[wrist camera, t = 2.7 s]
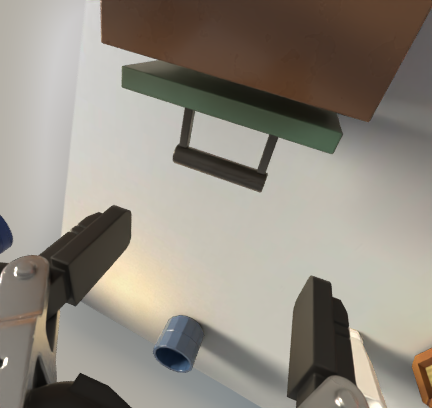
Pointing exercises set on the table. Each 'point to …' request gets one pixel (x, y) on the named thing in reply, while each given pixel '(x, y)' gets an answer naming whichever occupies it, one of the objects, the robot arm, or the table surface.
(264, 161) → the drawer
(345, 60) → the cabinet
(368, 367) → the cup
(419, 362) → the diary
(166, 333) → the blue faceted tumbler
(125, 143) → the table surface
